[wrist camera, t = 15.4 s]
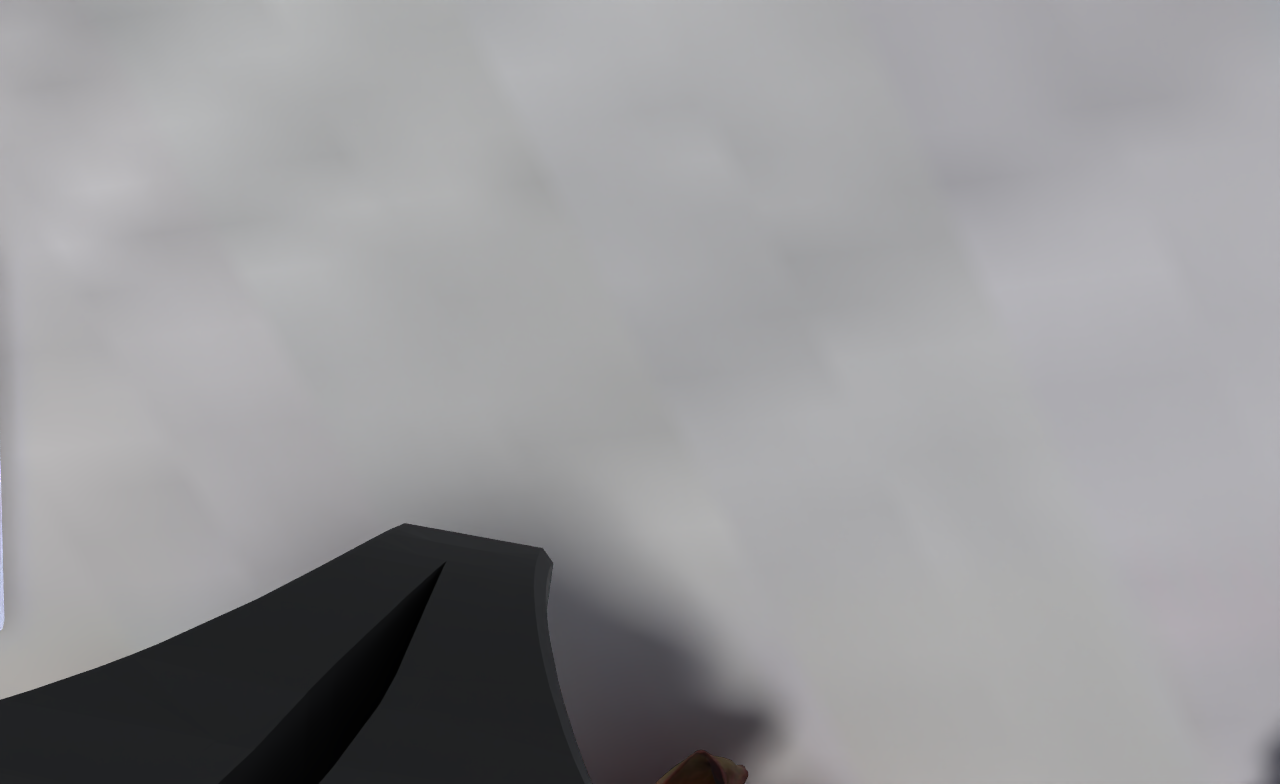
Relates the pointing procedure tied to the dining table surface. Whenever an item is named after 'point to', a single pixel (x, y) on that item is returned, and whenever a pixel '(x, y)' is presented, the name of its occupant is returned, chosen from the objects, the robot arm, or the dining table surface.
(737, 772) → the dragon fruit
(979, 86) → the dining table surface
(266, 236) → the dining table surface
